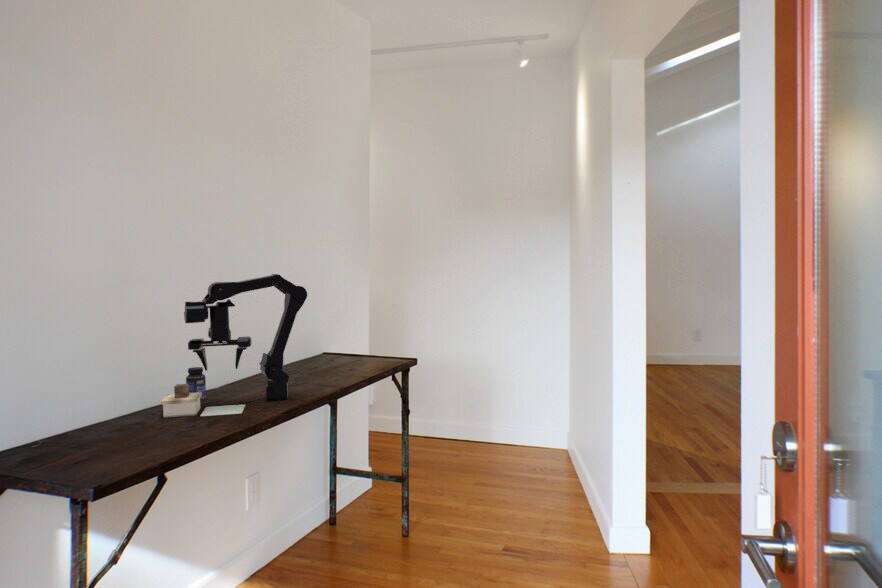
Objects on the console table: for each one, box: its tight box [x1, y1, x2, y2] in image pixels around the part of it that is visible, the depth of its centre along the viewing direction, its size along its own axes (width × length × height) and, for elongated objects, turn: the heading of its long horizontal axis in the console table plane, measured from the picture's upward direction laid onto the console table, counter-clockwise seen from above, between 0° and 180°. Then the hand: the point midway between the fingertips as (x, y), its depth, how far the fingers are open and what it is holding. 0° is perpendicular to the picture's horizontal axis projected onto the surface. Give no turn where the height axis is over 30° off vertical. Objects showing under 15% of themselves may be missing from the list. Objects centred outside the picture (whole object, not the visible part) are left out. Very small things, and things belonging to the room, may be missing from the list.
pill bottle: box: [185, 366, 207, 402], centre depth 207 cm, size 6×6×11 cm
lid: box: [160, 383, 202, 406], centre depth 188 cm, size 10×10×4 cm
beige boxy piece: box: [162, 398, 201, 418], centre depth 189 cm, size 9×9×4 cm
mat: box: [200, 404, 246, 417], centre depth 191 cm, size 12×12×1 cm
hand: (221, 369), depth 197 cm, fingers open, 9 cm apart
